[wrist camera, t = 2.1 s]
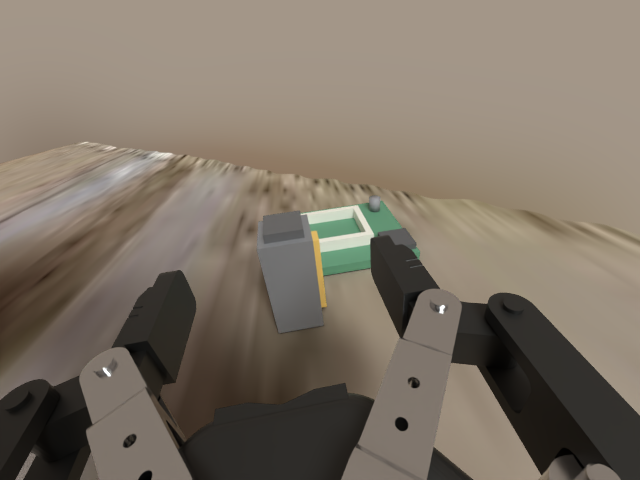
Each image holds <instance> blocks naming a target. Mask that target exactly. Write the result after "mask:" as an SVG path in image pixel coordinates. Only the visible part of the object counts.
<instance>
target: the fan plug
mask: <svg viewBox="0 0 640 480" xmlns="http://www.w3.org/2000/svg"><path fill="white" fill-rule="evenodd" d="M257 252H258V256H259V260H260V264H261V268H262V271H263V275H264V279H265V283H266V287H267V291H268V294H269V298H270V302H271V306H272V310H273V313H274V317H275V321H276V325H277V329H278V333H284V332H290V331H295V330H301V329H306V328H312V327H318V326H323V325H324V324H323V316H322V307H327V305H326V296H325V288H324V279H323V270H322V261H321V252H320V243H319V238H318V234H317V231H311V230H310V225H309V221H308V217H307V214H305V215H301V214H300V211H293V212H287V213H280V214H273V215H267V216H263V221H259V222H258V237H257Z"/></svg>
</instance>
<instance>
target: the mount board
mask: <svg viewBox="0 0 640 480" xmlns="http://www.w3.org/2000/svg"><path fill="white" fill-rule="evenodd" d="M300 214H301V215H305V214H307V217H308V221H309V225H310V230H311V231H317V234H318V238H319V243H320V252H321V261H322V270H323V276H325V275H331V274H337V273H343V272H349V271H355V270H361V269H367V268H371V262H370V239H371V238H372V237H378V236H384V235H389V236H390V237H391V239H392V241H393V242H394V244H395V245H399V244H403V245H405V246H406V247H408V248H410V249H411V250H412V251H413V252H414V253H415V255H416V256H417V258H418V259H419V256H420V251H419V250H418V248H417V247H416V242H415V241H414V239H413V238H412V237H411V235H410V234H409V233H408V231H407V230H406V229H405V228H402V227H401V225H400V224H399V223H398V221H397V220H396V219H395V217H394V216H393V215H392V213H391V212H390V211H389V209H388V208H387V207H386V205H385V204H384V203H383V201H380V197H379V196H376V195H374V196H370V197H369V203H364V204H358V205H351V206H344V207H338V208H331V209H325V210H318V211H312V212H305V213H300Z"/></svg>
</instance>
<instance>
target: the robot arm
mask: <svg viewBox="0 0 640 480" xmlns="http://www.w3.org/2000/svg"><path fill="white" fill-rule="evenodd" d="M370 262H371V273H372V277H373V280H374V282H375V284H376V286H377V288H378V291H379V293H380V295H381V297H382V299H383V302H384V304H385V306H386V308H387V310H388V312H389V315H390V317H391V319H392V321H393V323H394V326H395V328H396V330H397V332H398V334H399V336H400V338H399V340H398V342H397V344H396V347H395V349H394V352H393V355H392V357H391V360H390V362H389V365H388V368H387V370H386V373H385V375H384V378H383V381H382V383H381V386H380V388H379V391H378V394H377V396H376V399H375V400H373V399H371V398H369V397H366V396H363V395H359V394H354V393H347V389H346V384H345V383H343V384H338V385H333V386H328V387H323V388H318V389H314V390H312V391H309V392H307V393H305V394H303V395H301V396H299V397H297V398H295V399H293V400H291V401H289V402H287V403H284V404H281V405H275V404H260V403H244V404H239V405H234V406H229V407H224V408H219V409H215V415H214V421H213V422H211V423H209V424H207V425H206V426H204V427H202V428H201V429H200V430H198V431H197V432H196V433H194V434H193V435H192V436H191V437H190V438H189V439H188V440H187V439H186V437H185V435H184V434H183V432H182V431H181V429H180V427H179V425H178V423H177V422H176V420H175V418H174V416H173V415H172V413H171V411H170V409H169V408H168V406H167V404H166V402H165V400H164V399H163V397H162V396H161V394H160V391H161V388H162V385H165V384H170V383H175V382H176V378H177V375H178V371H179V368H180V364H181V361H182V357H183V354H184V351H185V347H186V344H187V340H188V337H189V333H190V330H191V326H192V323H193V319H194V316H195V312H196V301H195V297H194V295H193V293H192V291H191V288H190V286H189V284H188V282H187V280H186V278H185V276H184V274H183V272H182V271H181V270H177V271H171V272H166V273H161V274H159V276H158V278H157V280H156V282H155V284H154V286H153V287H150V288H148V289H147V290H146V291H145V292H144V293H143V294H142V295H141V296H140V297H139V298H138V300H137V301H136V303H135V305H134V307H133V310H132V311H131V313H130V314H129V318H127V320H126V322H125V324H124V326H123V327H122V329H121V331H120V333H119V335H118V337H117V339H116V340H115V342H114V344H113V346H112V348H111V349H108V350H106V351H104V352H102V353H100V354H98V355H97V356H95V357H94V358H93V359H92V360H91V361H90V362H88V364H87V365H86V366H85V367H84V368H83V370H82V372H81V374H80V376H77V377H75V378H73V379H70V380H68V381H66V382H63V383H61V384H59V385H57V386H54V387H53V386H51V385H50V384H49V383H48V382H47V381H46V380H42V379H38V380H33V381H30V382H27V383H25V384H23V385H21V386H19V387H17V388H15V389H14V390H12V391H11V392H10V393H8V394H7V395H6V396H5V397H3V398H2V399H1V400H0V480H15V479H16V477H17V475H18V474H19V472H20V470H21V468H22V466H23V465H24V463H25V461H26V459H27V457H28V455H29V454H30V452H32V453H34V454H35V455H36V457H35V459H34V461H33V463H32V465H31V467H30V468H29V470H28V472H27V474H26V476H25V478H24V480H80V477H81V475H82V472H83V470H84V467H85V465H86V462H87V460H88V457H89V455H90V452H92V456H93V460H94V463H95V467H96V470H97V474H98V477H99V480H473V479H472V478H471V477H469V476H468V475H467V474H466V473H464V472H463V471H462V470H461V469H460V468H458V467H457V466H456V465H455V464H454V463H452V462H451V461H450V460H449V459H448V458H446V457H445V456H444V455H443V454H442V453H440V452H439V451H438V450H437V449H436V448H434V442H435V437H436V432H437V428H438V423H439V418H440V413H441V408H442V403H443V398H444V394H445V389H446V384H447V379H448V374H449V369H450V364H451V363H459V364H468V365H477V367H478V368H479V370H480V372H481V374H482V375H483V377H484V379H485V380H486V382H487V384H488V385H489V387H490V389H491V390H492V392H493V394H494V396H495V397H496V399H497V401H498V402H499V404H500V406H501V407H502V409H503V411H504V413H505V414H506V416H507V418H508V419H509V421H510V423H511V424H512V426H513V428H514V429H515V431H516V433H517V435H518V436H519V438H520V440H521V441H522V443H523V445H524V446H525V448H526V450H527V451H528V453H529V455H530V457H531V458H532V460H533V462H534V463H535V465H536V467H537V468H538V470H539V472H540V474H541V475H542V476H541V477H540V478H539V480H640V415H639V414H638V413H637V412H636V411H635V410H634V409H633V408H632V407H631V406H630V405H629V404H628V403H627V402H626V401H625V400H624V399H623V398H622V397H621V396H620V395H619V393H618V392H617V391H616V390H615V389H614V388H613V387H612V386H611V385H610V384H609V383H608V382H607V381H606V380H605V379H604V378H603V377H602V376H601V375H600V374H599V373H598V372H597V370H596V369H595V368H594V367H593V366H592V365H591V364H590V363H589V362H588V361H587V360H586V359H585V358H584V357H583V356H582V355H581V354H580V353H579V352H578V351H577V350H576V348H575V347H574V346H573V345H572V344H571V343H570V342H569V341H568V340H567V339H566V338H565V337H564V336H563V335H562V334H561V333H560V332H559V331H558V330H557V329H556V328H555V327H554V325H553V324H552V323H551V322H550V321H549V320H548V319H547V318H546V317H545V316H544V315H543V314H542V313H541V312H540V311H539V310H538V309H537V308H536V307H535V306H534V305H533V304H532V303H531V302H530V301H528V300H527V299H525V298H523V297H521V296H519V295H516V294H511V293H497V294H494V295H492V296H491V297H490V298H489V300H488V303H487V304H481V303H467V302H461V301H460V300H459V299H458V298H457V297H456V296H455V295H454V294H452V293H450V292H448V291H445V290H442V289H440V288H439V287H438V285H437V284H436V282H435V281H434V280H433V278H432V277H431V276H430V274H429V273H428V271H427V270H426V269H425V267H424V266H422V263H421V262H420V260H419V259H418V258H417V256H416V255H415V253H414V252H413V251H412V250H411V249H410V248H408V247H406V246H405V245H403V244H399V245H395V244H394V242H393V241H392V239H391V237H390V236H389V235H384V236H378V237H372V238H371V239H370Z"/></svg>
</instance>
